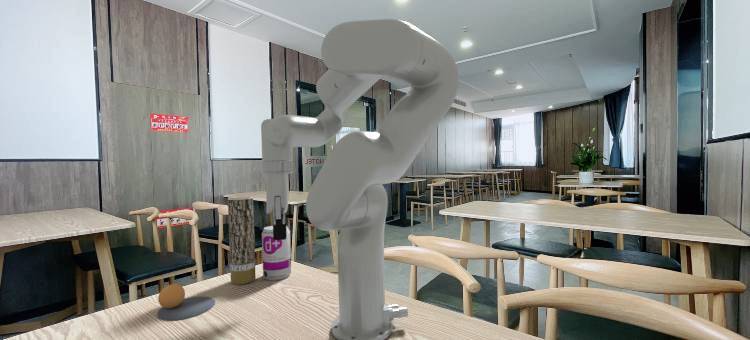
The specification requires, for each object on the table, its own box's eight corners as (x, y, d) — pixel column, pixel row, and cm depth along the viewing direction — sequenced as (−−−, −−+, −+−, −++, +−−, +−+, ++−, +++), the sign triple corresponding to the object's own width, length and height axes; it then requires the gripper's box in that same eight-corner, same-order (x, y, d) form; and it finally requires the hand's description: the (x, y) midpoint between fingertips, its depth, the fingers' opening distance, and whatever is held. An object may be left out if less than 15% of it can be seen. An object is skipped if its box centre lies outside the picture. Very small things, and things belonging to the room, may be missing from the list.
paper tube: (239, 276, 97) (236, 195, 96) (259, 277, 96) (257, 195, 95) (225, 285, 90) (222, 198, 89) (247, 286, 89) (245, 198, 88)
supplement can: (283, 281, 92) (281, 230, 92) (257, 280, 94) (256, 230, 93) (295, 271, 100) (294, 224, 100) (271, 270, 102) (270, 224, 101)
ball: (160, 293, 79) (178, 305, 80) (148, 303, 74) (168, 317, 75) (175, 276, 79) (193, 289, 80) (164, 285, 74) (184, 299, 75)
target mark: (220, 294, 84) (220, 294, 84) (207, 316, 72) (207, 315, 72) (169, 300, 81) (169, 299, 81) (147, 324, 69) (147, 323, 69)
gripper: (265, 167, 87) (267, 233, 88) (259, 169, 73) (261, 248, 73) (293, 167, 89) (295, 231, 89) (292, 168, 74) (294, 245, 75)
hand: (280, 239), depth 81 cm, fingers closed
